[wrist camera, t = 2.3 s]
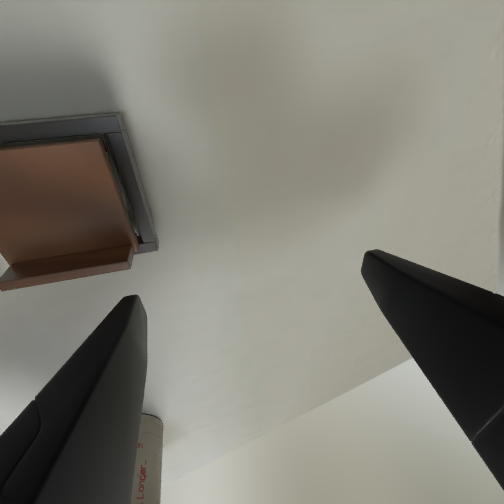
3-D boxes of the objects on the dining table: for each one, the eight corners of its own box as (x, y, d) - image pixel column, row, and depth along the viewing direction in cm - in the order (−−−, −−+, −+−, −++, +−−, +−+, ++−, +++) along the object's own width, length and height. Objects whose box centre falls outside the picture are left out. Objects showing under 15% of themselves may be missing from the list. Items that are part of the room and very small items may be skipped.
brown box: (159, 236, 21) (154, 282, 16) (36, 256, 19) (-6, 312, 15) (122, 110, 16) (100, 126, 11) (-47, 125, 14) (-148, 150, 10)
